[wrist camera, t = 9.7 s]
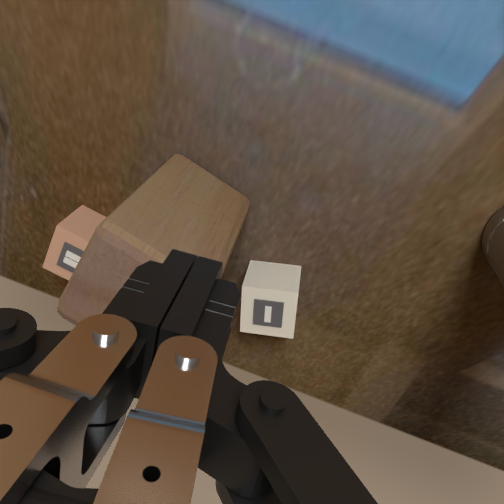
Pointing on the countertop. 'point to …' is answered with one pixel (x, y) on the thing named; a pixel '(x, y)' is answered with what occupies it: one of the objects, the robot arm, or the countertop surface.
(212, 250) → the wooden block
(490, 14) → the countertop surface
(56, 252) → the pink cube
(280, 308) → the cream cube
